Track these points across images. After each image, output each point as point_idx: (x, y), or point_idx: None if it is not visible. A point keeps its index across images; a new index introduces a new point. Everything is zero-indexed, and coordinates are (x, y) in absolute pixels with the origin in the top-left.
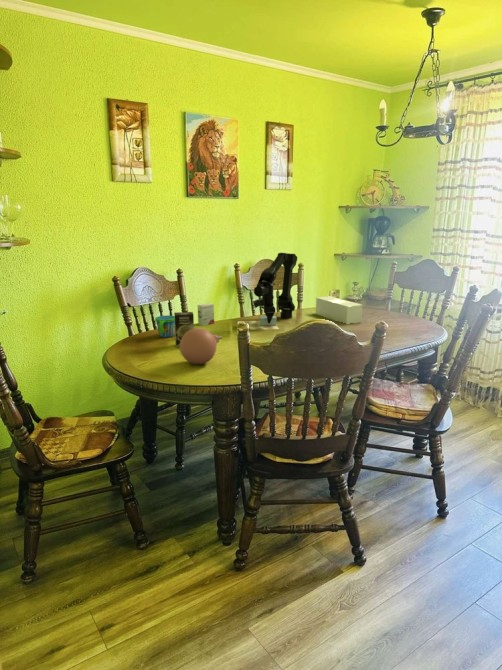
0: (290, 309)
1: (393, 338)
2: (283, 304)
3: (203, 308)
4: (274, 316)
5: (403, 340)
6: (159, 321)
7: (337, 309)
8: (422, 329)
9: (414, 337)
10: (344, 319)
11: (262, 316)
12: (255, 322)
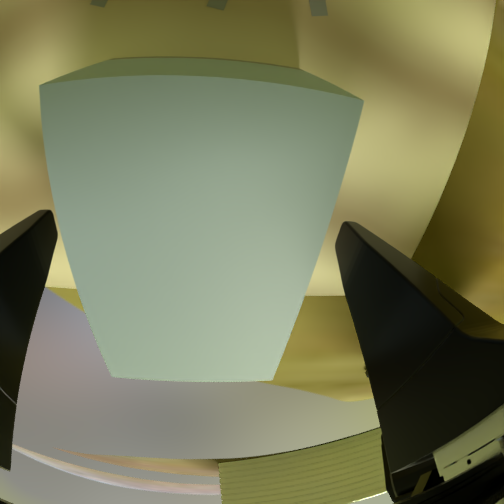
0: (382, 448)
1: (65, 463)
2: (434, 466)
3: None
4: (222, 371)
5: (55, 463)
6: None
7: (284, 496)
8: (154, 488)
9: (86, 474)
10: (233, 475)
11: (281, 172)
12: (408, 38)
